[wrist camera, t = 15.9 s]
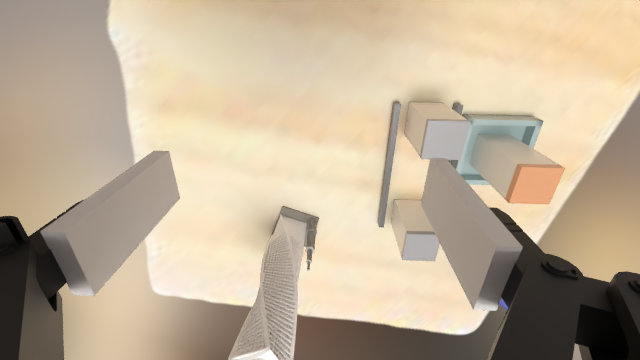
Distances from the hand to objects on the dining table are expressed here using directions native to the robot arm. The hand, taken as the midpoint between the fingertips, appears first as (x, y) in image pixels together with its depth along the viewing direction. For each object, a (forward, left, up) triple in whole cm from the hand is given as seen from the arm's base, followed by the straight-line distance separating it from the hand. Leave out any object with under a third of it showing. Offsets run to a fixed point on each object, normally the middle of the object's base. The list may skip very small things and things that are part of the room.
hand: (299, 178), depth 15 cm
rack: (+14, +16, -32) cm, 38 cm away
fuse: (+10, +27, -31) cm, 42 cm away
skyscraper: (+27, -5, -32) cm, 42 cm away
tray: (+10, +27, -32) cm, 43 cm away
